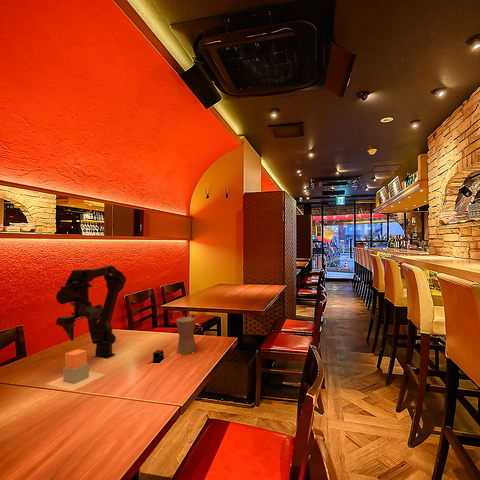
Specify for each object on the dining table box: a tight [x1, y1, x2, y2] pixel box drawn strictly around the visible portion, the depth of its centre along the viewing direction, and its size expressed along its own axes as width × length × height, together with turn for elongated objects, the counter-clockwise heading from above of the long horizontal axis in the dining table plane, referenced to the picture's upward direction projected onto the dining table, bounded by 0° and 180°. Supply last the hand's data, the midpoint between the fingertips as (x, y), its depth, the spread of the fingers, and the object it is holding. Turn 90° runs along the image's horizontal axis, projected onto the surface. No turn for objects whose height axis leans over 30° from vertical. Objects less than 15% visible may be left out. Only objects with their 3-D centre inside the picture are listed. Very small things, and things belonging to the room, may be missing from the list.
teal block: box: [62, 363, 90, 384], centre depth 115 cm, size 6×6×5 cm
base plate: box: [45, 370, 106, 392], centre depth 115 cm, size 14×14×1 cm
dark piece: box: [149, 349, 165, 363], centre depth 135 cm, size 12×7×5 cm, turn 166°
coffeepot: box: [175, 312, 197, 355], centre depth 147 cm, size 15×9×18 cm, turn 162°
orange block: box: [64, 349, 88, 369], centre depth 115 cm, size 5×5×5 cm
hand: (82, 337), depth 128 cm, fingers open, 9 cm apart
